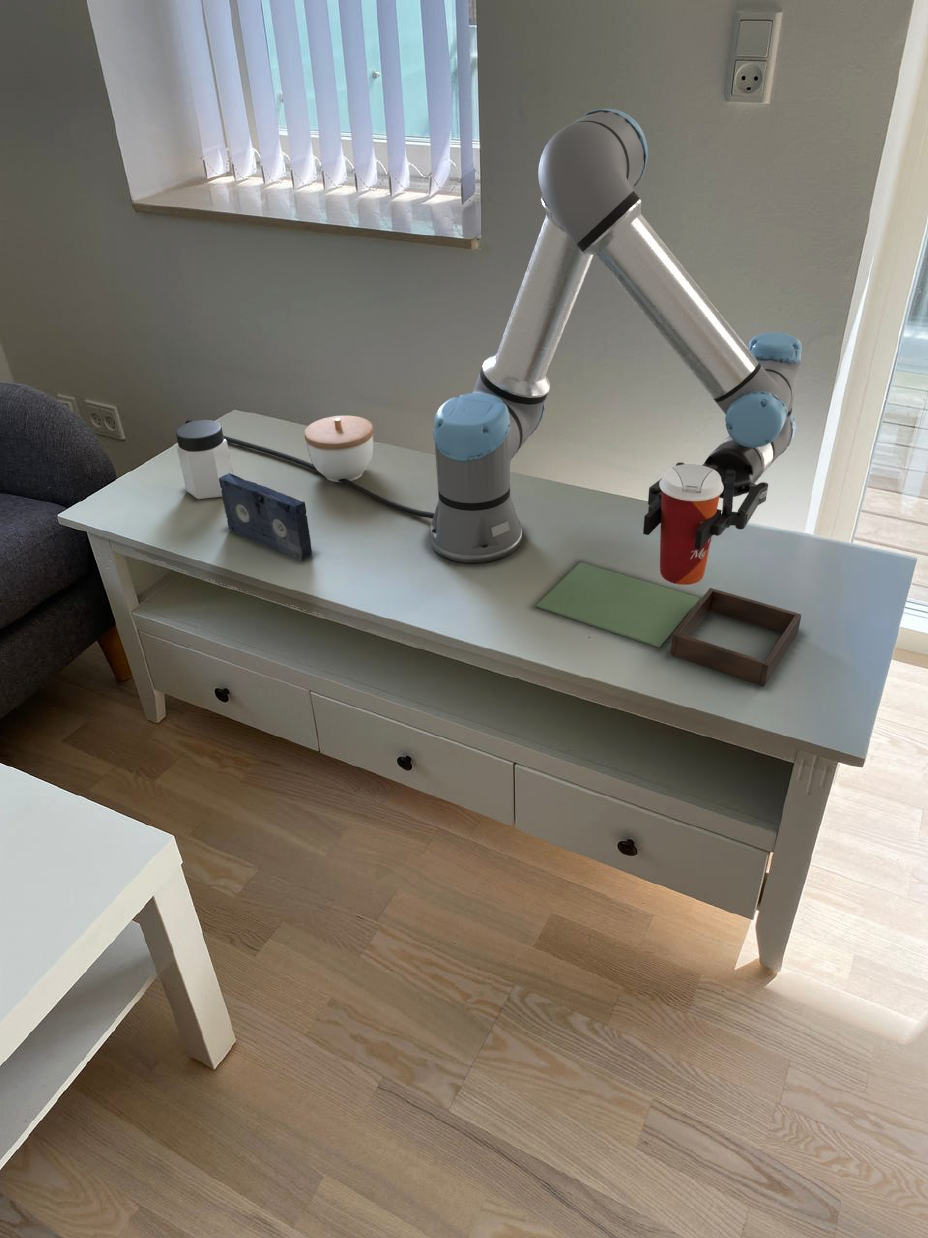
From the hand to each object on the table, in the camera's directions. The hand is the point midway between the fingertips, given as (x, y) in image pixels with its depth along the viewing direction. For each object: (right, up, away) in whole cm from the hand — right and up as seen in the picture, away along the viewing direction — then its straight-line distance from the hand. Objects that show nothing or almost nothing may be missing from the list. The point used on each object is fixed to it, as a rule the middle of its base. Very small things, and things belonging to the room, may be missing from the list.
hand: (672, 532), depth 127 cm
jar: (-74, +13, +55) cm, 93 cm away
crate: (+11, -15, +9) cm, 20 cm away
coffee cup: (+3, -5, +9) cm, 10 cm away
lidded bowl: (-50, +16, +57) cm, 78 cm away
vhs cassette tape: (-60, +2, +38) cm, 71 cm away
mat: (-4, -9, +19) cm, 21 cm away
